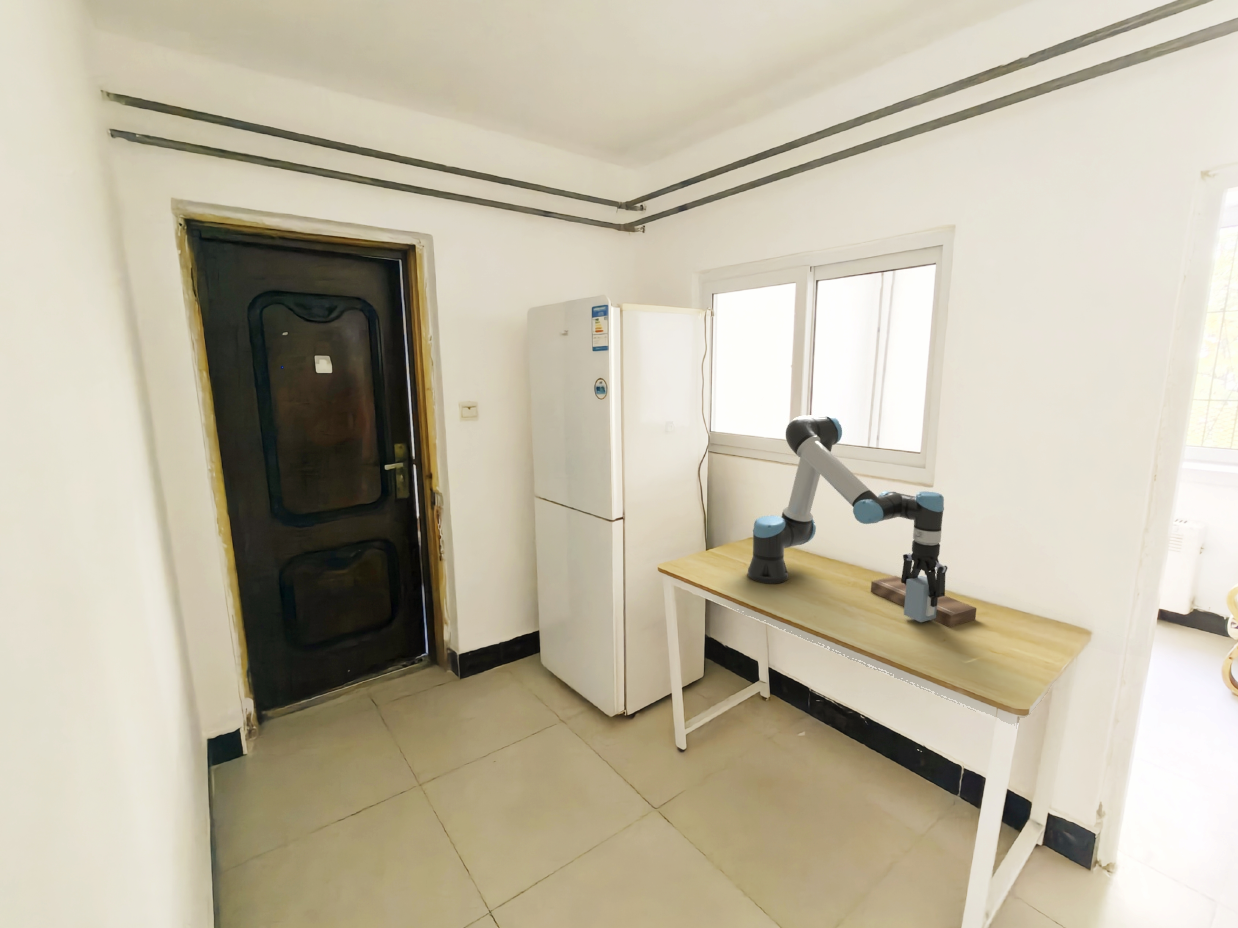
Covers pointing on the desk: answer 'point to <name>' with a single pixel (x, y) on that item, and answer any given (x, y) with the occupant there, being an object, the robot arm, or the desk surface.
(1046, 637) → the desk surface
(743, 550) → the desk surface
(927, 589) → the pale blue block
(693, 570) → the desk surface
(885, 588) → the plank
